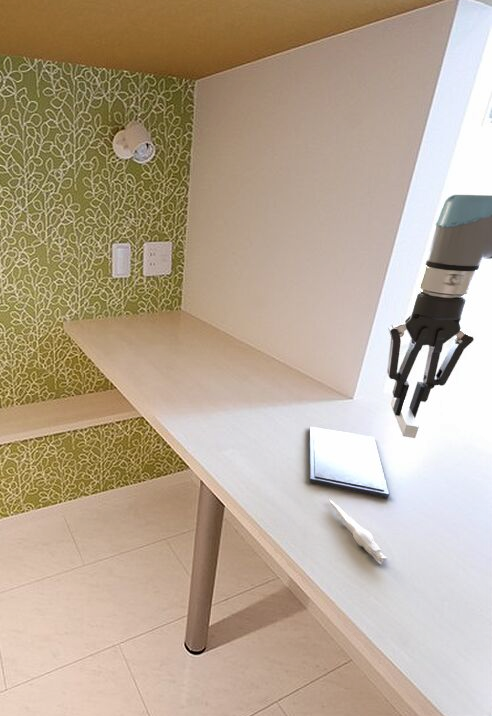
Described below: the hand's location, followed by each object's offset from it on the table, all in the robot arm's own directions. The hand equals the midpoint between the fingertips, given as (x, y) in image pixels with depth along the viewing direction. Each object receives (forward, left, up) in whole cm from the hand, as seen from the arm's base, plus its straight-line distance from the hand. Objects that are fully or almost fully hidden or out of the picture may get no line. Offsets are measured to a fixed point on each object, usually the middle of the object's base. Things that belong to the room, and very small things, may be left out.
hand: (403, 413), depth 85 cm
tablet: (+8, 0, -13) cm, 15 cm away
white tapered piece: (+8, +23, -13) cm, 28 cm away
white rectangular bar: (0, 0, -1) cm, 1 cm away
